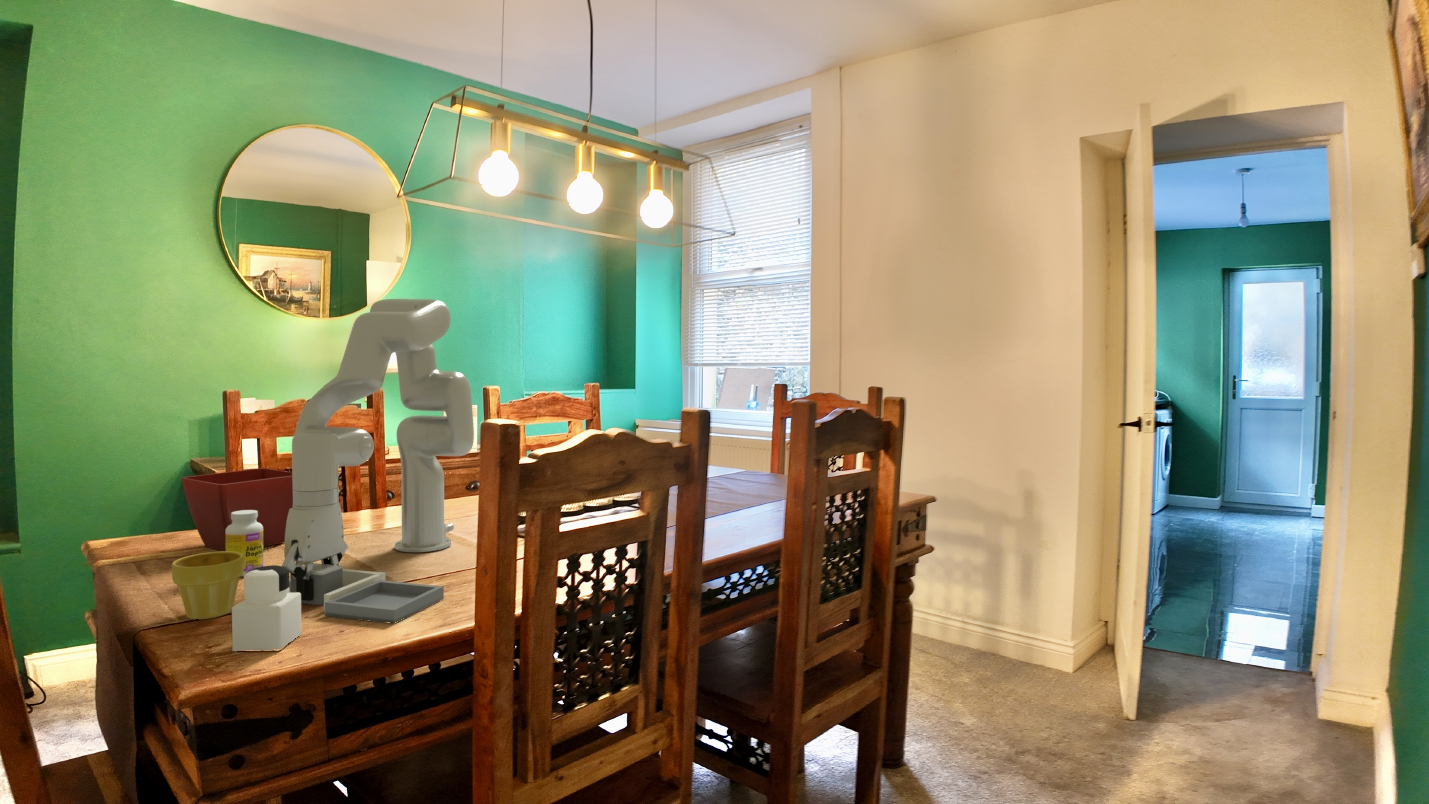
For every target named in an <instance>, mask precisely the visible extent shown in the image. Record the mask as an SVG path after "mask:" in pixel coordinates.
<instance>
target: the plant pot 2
mask: <svg viewBox="0 0 1429 804" xmlns="http://www.w3.org/2000/svg"><path fill="white" fill-rule="evenodd" d="M243 573H244V556H243V554H241V553H239V552H231V551H221V550H219V551H209V552H201V553H196V554H192V555H191V554H190V555H186V556H183V557H181V558H177V559H176V560H174V561H173V562H172V563H171V577H172V583H173V584H174V585H177V588H178V591H179V593H180V598H181V601H182V604H183V608H184V611H185V615H186V617H187V618H188V619H190V620H196V619H199V620H208V619H215V618H219V617H222V616H223V617H224V616H226V615H228V614H229V613H232V612H231V609H232V607H233V606H235V605H234V604H235V599H236V595H237V590H238V586H239V585H238V584H239V581H240V578H241V577H240V576H241V575H242V574H243Z"/></svg>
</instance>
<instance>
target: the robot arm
mask: <svg viewBox="0 0 1429 804" xmlns="http://www.w3.org/2000/svg"><path fill="white" fill-rule="evenodd" d="M449 309H450V308H449V307H448V306H447V305H446V304H445V302H443V301H441V300H439V299H434V298H433V299H431V298H426V299H425V298H423V299H422V298H386V299H384V298H383V299H381V300H377V301H375V302H374V303H373V304H372V305H371V306H370V309H369V312H368V311H367V312H365V313H362V314H360V315H359V316H358V317H356V319H355V320H354V323H353V325H352V328H351V331H350V334H349V337H348V340H347V344H346V346H345V350H344V353H343V356H342V360H341V363H340V366H339V369H338V372H337V374H336V375H335V376H334V377H333V378H332V379H331V380H330V381H328V382H327V383H326V384H324V385H323V386H322V387H321V388H320V389H319V390H317V392H316V393H314V395H313V396H312V397H311V398H310V399H309V400H308V401H307V403H305V405H304V407H303V408H302V410H301V412H300V415H299V419H298V421H297V424H296V428H295V431H294V434H293V437H292V440H291V472H292V489H293V490H292V495H293V508H291V509H289V513H288V517H287V523H286V531H285V542H284V547H283V548H284V549H283V550H284V560H283V562H282V565H281V566H282V567H286V568H287V569H288V570H289V575H290V574H292V575H293V578H294V579H296V592H299V593H301V600H305V601H311V600H313V579H311V578H310V577H311V572H312V567H313V563H316V562H318V561H320V562H321V564H328V565H338V566H340V563H341V560H342V559H343V556H344V554H345V553H346V552H347V550H348V548H349V546H348V544H347V543H346V541H345V536H344V535H345V533H344V520H343V514H342V508H341V503H340V502H339V501H340V500H339V499H340V495H339V494H340V489H339V488H340V487H339V468H340V467H356V466H357V467H358V466H360V465H363V464H364V463H366V462H367V461H368V460H370V458H372V455H373V453H374V452H375V451H374V450H375V442H374V439H373V437H372V435H371V434H370V433H369V432H368V431H367V430H365V429H362V428H358V427H351V426H350V427H346V426H344V427H343V426H327V425H328V423H329V421H330V420H331V418H332V417H333V416H334V415H335V414H336V413H337V412H338V411H339V410H341V409H342V408H344V407H345V406H347V405H350V404H351V403H353V402H356V401H359V400H361V399H364V398H366V397H368V396H371V395H373V394H375V393H377V392H378V391H379V390H381V388H382V387H383V385H384V381H385V378H386V374H387V369H388V367H389V363H390V359H391V358H392V357H391V356H392V354H393V353H395V356H396V363H397V375H398V386H399V394H400V395H399V396H400V401H401V403H402V405H403V406H404V408H406V409H408V410H412V411H420V412H445V414H446V415H426V414H423V415H422V414H421V415H411V416H408V417H405V418H404V419H402V420H401V421H400V423H398V426H397V429H396V442H397V443H396V444H397V446H398V447H397V448H398V451H399V452H398V453H399V457H400V467H401V468H400V469H401V470H400V471H401V539H400V540H398V541H396V542H395V543H394V549H395V550H396V551H398V552H403V553H427V552H429V553H430V552H436V551H439V550H445V549H446V548H449V547H451V545H452V539H451V538H449V537H446V534H447V533H449V532H452V531H453V530H454V529H455V526H454V524H453V523H447V524H445V472H444V469H443V467H442V465H441V463H440V461H439V460H438V459H437V457H439V456H440V457H462V456H466V455H468V454H469V453H470V452H471V450H472V448H473V446H474V440H475V427H474V415H473V413H474V412H473V400H472V399H473V398H472V389H471V385H470V382H469V379H468V378H467V377H466V376H465V375H464V374H463V373H461V372H459V371H455V370H453V371H452V370H439V369H438V366H437V365H438V364H437V358H436V349H435V347H434V345H433V344H434V343H435V342H437V341H439V340H440V339H442V338H443V336H445V335H446V334H447V332H448V331H449V329H450V326H451V320H452V319H451V312H450V310H449ZM304 565H305V570H303V569H302V566H304Z"/></svg>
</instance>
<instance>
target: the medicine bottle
mask: <svg viewBox="0 0 1429 804" xmlns="http://www.w3.org/2000/svg"><path fill="white" fill-rule="evenodd" d="M289 579H290V573H289V570H288V569H287V568H286V567H282V565H278V564H277V565H275V564H274V565H263V566H262V567H257V568H254V569H252V570H250V571H248V572H246V574H245V575H244V576H243V592H244V594H243V597H244V598H245V599H243V600H241V601H240V602H238V603H237V604H235V605H233V607H232V609H231V612H230V613H231V650H232V652H233V651H241V650H273V649H281V648H283V647H284V646H285V645H287V644H288V643H289V642H291V641H293V640H294V639H295V638H296V639H297V637H298V636H299V637H300V636H301V635H302V603H301V593H299V592H295V593H288V592H289ZM299 637H298V638H299ZM296 639H295V640H296ZM295 640H294V641H295ZM294 641H293V642H294ZM291 643H292V642H291ZM287 646H288V645H287Z"/></svg>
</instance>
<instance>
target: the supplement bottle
mask: <svg viewBox="0 0 1429 804" xmlns="http://www.w3.org/2000/svg"><path fill="white" fill-rule="evenodd" d="M257 517H258V511H256V510H241V511H235V512H232V513H231V519H232V524H231V525H229V526H228V527H227V528H226V531H225V536H226V551H231V552H239V553H241V554H243V556H244V573H243V574H242V575H241V576H240V577H239V578H241V577H242V578H244V575H245V574H246V572H248V571H250V570H252V569H254V568H257V567H262V566H264V547H263V526H262V524H260V523H258V522H257V521H256V519H257Z"/></svg>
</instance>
